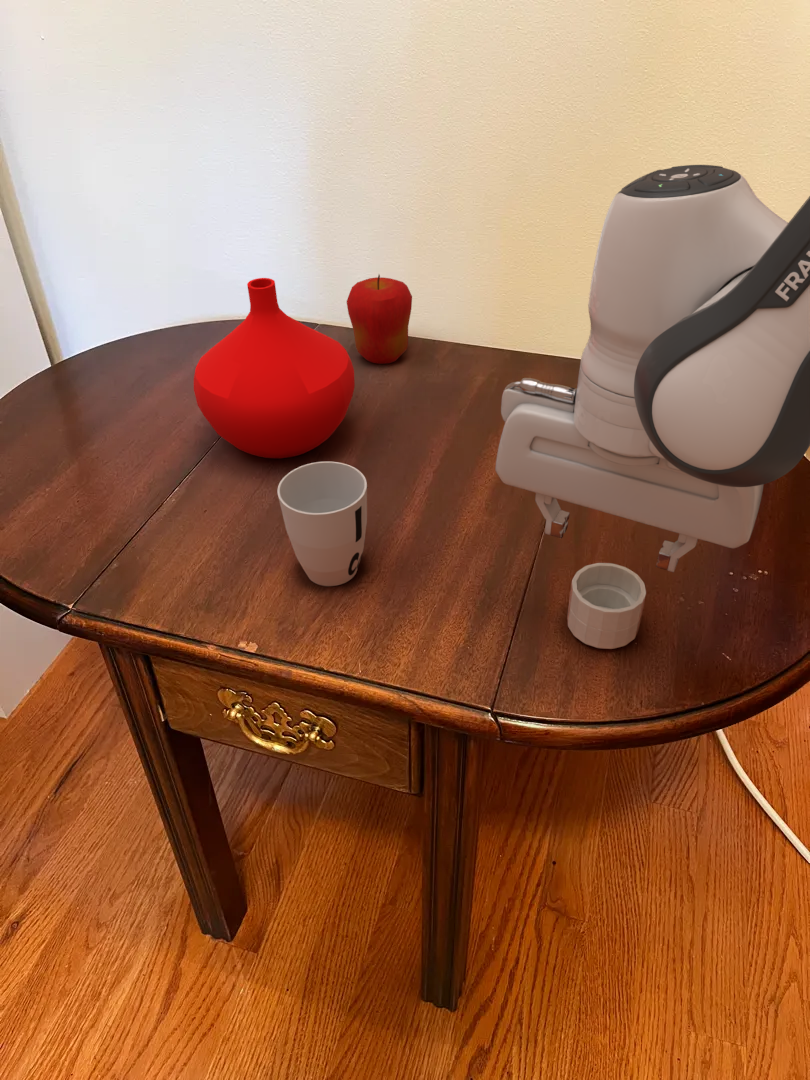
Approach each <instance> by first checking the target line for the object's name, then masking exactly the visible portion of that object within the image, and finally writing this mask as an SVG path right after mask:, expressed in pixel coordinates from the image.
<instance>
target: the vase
mask: <svg viewBox="0 0 810 1080" xmlns="http://www.w3.org/2000/svg"><path fill="white" fill-rule="evenodd" d="M246 286H247V293H248V298H249V312H248V314H247V316H246V317H245V318H244V320H243V321H242V322H241V323H240V324H238V325H237V326H236V327H235V328H234V329H232V331H231V332H230V333H228V334H227V335H225V337H224V338H222V339H221V340H220V341H219V342H216V343H215V345H214V346H212V347H211V348H210V349H208V350H207V351H206V352H205V353H204V354H203V355H202V356H201V357H200V359H199V360H198V362H197V364H196V366H195V368H194V369H195V370H194V375H193V392H194V396H195V397H194V398H195V401H196V405H197V407H198V408H199V411H200V412H201V413H202V416H203V417H204V418H205V419H206V421H207V422H208V423H209V425H210V427H212V428H213V430H214V431H215V432H216V434H217V435H218V436H220V437H221V438H222V439H224V441H226V442H228V443H229V444H230V445H232V446H233V447H235V448H236V449H238V450H239V451H242V452H244V453H247V454H249V455H252V456H256V457H259V458H260V457H261V458H265V459H287V458H288V459H289V458H293V457H297V456H300V455H304V454H306V453H307V452H310V451H312V450H314V449H316V448H317V447H319V446H321V444H323V443H324V442H325V441H327V440H328V439H329V438H330V437H331V436H332V435H333V434H334V433H335V431H336V430H337V429H338V427H339V426H340V425H341V423H342V422H343V421H344V419H345V418H346V415H347V413H348V410H349V407H350V404H351V401H352V399H353V396H354V392H355V387H356V385H355V384H356V382H355V381H356V380H355V368H354V365H353V362H352V359H351V357H350V355H349V353H348V351H347V349H346V348H345V347H344V346H343V345H342V344H341V343H340V342H339V341H338V340H335V339H334V338H332V337H331V336H328V335H326V334H324V333H323V332H320V331H319V330H316V329H314V328H311V327H309V326H308V325H306V324H303V323H302V322H300V321H298V320H296V319H294V318H293V317H291V316H289V315H288V314H286V312H284V311H283V310H282V309H281V308H280V306H279V302H278V294H277V288H276V281H275V280H274V279H273V278H269V277H259V278H258V277H257V278H253V279H251V280H249V281H248V282H247V283H246Z"/></svg>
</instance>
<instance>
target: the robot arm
mask: <svg viewBox="0 0 810 1080" xmlns="http://www.w3.org/2000/svg"><path fill="white" fill-rule="evenodd" d="M592 269H593V270H592V274H591V281H590V287H589V293H588V302H587V308H588V316H589V323H590V330H589V335H588V339H587V341H586V344H585V346H584V348H583V350H582V351H581V352H582V353H581V355H580V356H581V357H580V361H579V362H580V363H579V370H578V378H577V386H576V388H575V387H571V386H566V385H562V384H555V383H548V382H543V381H541V380H539V379H536V378H531V377H524V378H522V379H521V380H518V381H513V382H510V383H509V384H507V385H506V386H505V388H504V389H503V391H502V394H501V403H500V414H501V418H502V420H503V422H504V425H503V428H502V431H501V435H500V439H499V444H498V447H497V454H496V459H495V467H494V469H495V470H494V471H495V473H496V474H497V476H498V478H499V479H500V480H501V482H502V483H503V484H505V485H506V486H511V487H513V488H518V489H522V490H525V491H529V492H532V493H534V494H535V495H534V496H535V497H534V502H535V503H536V506H537V508H538V509H539V511H540V513H541V514H542V517H543V518H544V519H545V527H544V534H545V535H548V536H551V537H554V538H558V539H563V538H564V534H566V532H567V531H568V526H569V522H568V521H569V519H570V513H571V512H569V511H566V510H562V508H561V506H560V504H559V502H558V500H560V501H562V502H563V501H564V502H567V503H570V504H573V505H578V506H581V507H585V508H589V509H592V510H595V511H599V512H602V513H606V514H609V515H613V516H616V517H620V518H623V519H627V520H631V521H633V522H638V523H641V524H645V525H648V526H651V527H654V528H659V529H661V530H666V531H669V532H672V533H675V534H678V536H677V540H676V541H675V542H673V541H669V540H664V541H663V542H662V546H661V548H660V549H659V552H658V555H657V561H656V564H655V568H658V569H661V570H664V571H668V572H671V573H675V570H676V568H677V566H678V564H679V560H680V558H682V557H683V556H684V555H686V554H687V553H688V552H690V551H691V550H693V549H694V548H696V546H697V543H698V542H699V540H701V541H704V542H707V543H711V544H716V545H717V546H721V547H725V548H729V549H737V548H739V547H741V546H743V545H745V544H747V543H749V541H750V539H751V536H752V534H753V530H754V527H755V523H756V521H757V516H758V513H759V509H760V505H761V502H762V496H763V491H764V485H765V484H769V483H772V482H775V481H776V480H778V479H780V478H782V477H784V476H785V475H787V474H789V473H790V471H792V470H793V469H794V468H795V467H796V466H797V465H798V464H799V463H800V461H801V460H802V459H803V457H804V456H805V454H806V453H807V452H808V451H809V448H810V195H809V196H808V197H807V199H806V200H805V201H804V202H803V204H802V205H801V206H800V207H799V209H798V210H797V211H796V213H795V214H794V215H793V217H792V218H790V220H789V222H788V221H786V220H785V219H784V218H782V217H780V215H778V214H776V212H774V211H773V210H772V209H770V208H769V207H768V206H767V205H766V204H764V202H762V201H761V200H760V198H759V197H758V196H757V194H756V193H755V192H754V191H753V189H752V187H751V186H750V184H749V182H748V180H747V179H746V178H745V177H744V176H743V175H742V174H741V173H739V172H738V171H736V170H733V169H730V168H726V167H723V166H722V165H712V164H686V165H677V166H672V167H669V168H663V169H657V170H654V171H651V172H649V173H646V174H644V175H642V176H640V177H638V178H636V179H634V180H633V181H631V182H629V183H628V184H626V185H625V186H623V187H622V188H621V189H620V190H619V191H618V192H617V193H616V194H614V197H613V199H612V200H611V202H610V204H609V207H608V209H607V212H606V214H605V217H604V220H603V224H602V228H601V231H600V236H599V240H598V244H597V248H596V254H595V259H594V264H593V267H592Z"/></svg>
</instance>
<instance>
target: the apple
mask: <svg viewBox="0 0 810 1080" xmlns="http://www.w3.org/2000/svg"><path fill="white" fill-rule="evenodd" d="M412 306H413V295H412V293H411V290H410V289H409V287H408V285H407V284H406V283H405V282H404V281H402V280H398V279H394V278H390V277H381V275H380V274H378V276H376V277H369V278H366V279H363V280H360V281H357V282H356V283H355V284H354V285H352V286H351V289H350V291H349V293H348V297H347V299H346V308H347V313H348V317H349V321H350V323H351V327H352V330H353V335H354V342H355V348H356V350H357V352H358V354H360V355H361V357H362V358H364V359H365V360H366V361H368V362H370V363H373V364H378V365H379V364H381V365H384V364H385V365H386V364H391V363H393V362H396V361H397V360H398V359H399V358H400V357H401V356H402V355H403V354H404V353H405V352H406V351H407V349H408V346H409V325H410V319H411V314H412Z"/></svg>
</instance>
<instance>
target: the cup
mask: <svg viewBox="0 0 810 1080" xmlns="http://www.w3.org/2000/svg"><path fill="white" fill-rule="evenodd" d="M367 483H368V482H367V478H366V477H365V475H364V473H363V472H362V471H361V470H359V469H358V468H357V467H354V466H352V465H349V464H347V463H344V462H339V461H316V462H311V463H307V464H303V465H301V466H298V467H297V468H294V469H292V470H290V472H288V473H287V474H286V475H284V476H283V477H282V479H281V480H280V481H279V483H278V486H277V490H276V491H277V496H278V497H277V498H278V501H279V506H280V510H281V514H282V519H283V523H284V527H285V531H286V533H287V536H288V539H289V542H290V544H291V547H292V549H293V552H294V554H295V557H296V559H297V561H298V563H299V564H300V566H301V568H302V569H303V571H304V572H305V574H306V576H307V577H308V579H309V580H310V581H311V582H313V583H314V584H316V585H319V586H323V587H335V586H340V585H344V584H346V583H348V582H349V581H350V580H352V579H353V578H355V575H356V574H357V571H358V569H359V566H360V562H361V560H362V559H361V558H362V556H363V553H364V548H365V540H366V532H367V526H368V525H367V524H368V484H367Z"/></svg>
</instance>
